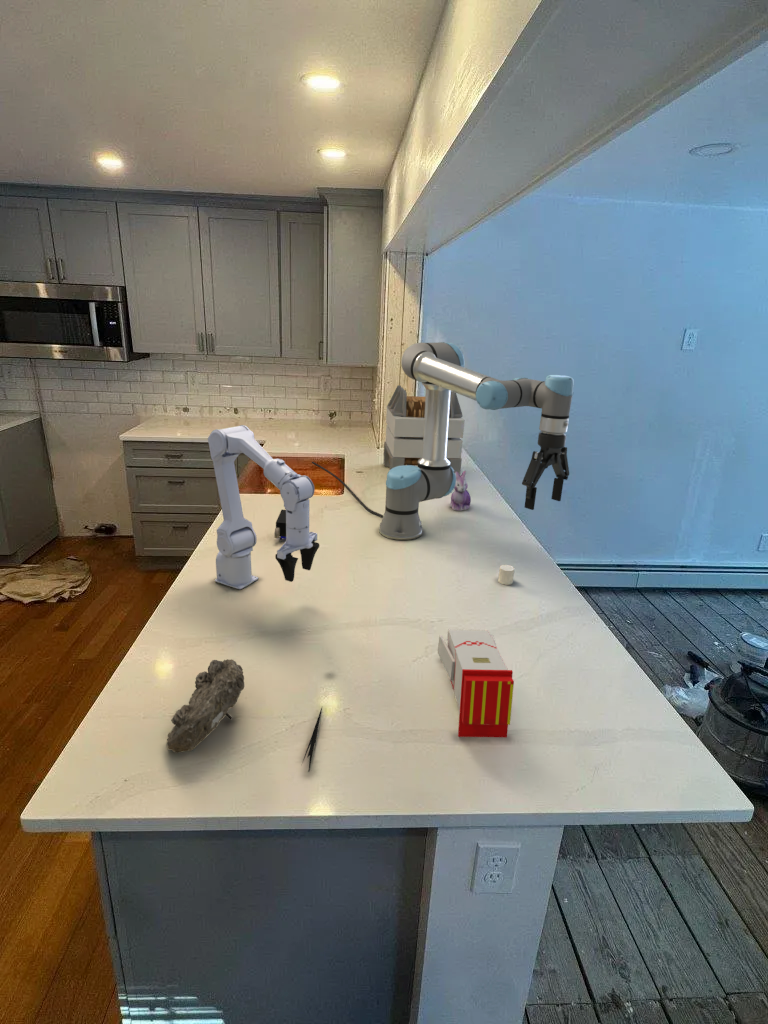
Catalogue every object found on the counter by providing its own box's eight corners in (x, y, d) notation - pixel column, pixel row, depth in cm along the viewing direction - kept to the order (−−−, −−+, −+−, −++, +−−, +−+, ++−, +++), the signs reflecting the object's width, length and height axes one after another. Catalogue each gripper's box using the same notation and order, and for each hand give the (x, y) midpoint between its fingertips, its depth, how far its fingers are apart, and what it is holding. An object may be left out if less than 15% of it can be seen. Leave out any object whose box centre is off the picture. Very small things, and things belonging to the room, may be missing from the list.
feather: (331, 679, 122) (336, 673, 122) (307, 777, 96) (313, 769, 95) (324, 675, 122) (329, 669, 121) (298, 772, 95) (304, 764, 95)
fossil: (192, 660, 117) (244, 628, 112) (224, 691, 120) (276, 661, 115) (142, 746, 98) (202, 712, 93) (182, 779, 101) (242, 748, 96)
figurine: (457, 512, 223) (460, 476, 218) (443, 504, 231) (446, 469, 226) (477, 509, 227) (480, 473, 222) (462, 502, 236) (465, 467, 230)
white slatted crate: (382, 463, 289) (386, 382, 275) (445, 464, 293) (451, 384, 279) (390, 482, 257) (394, 392, 243) (460, 483, 261) (468, 394, 247)
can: (512, 585, 166) (514, 571, 164) (498, 583, 166) (499, 569, 165) (512, 579, 170) (514, 565, 168) (498, 577, 170) (499, 563, 169)
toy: (488, 613, 130) (523, 677, 101) (484, 667, 133) (517, 744, 104) (435, 612, 130) (455, 676, 101) (432, 666, 133) (451, 743, 103)
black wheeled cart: (294, 548, 187) (299, 527, 200) (293, 528, 183) (299, 508, 197) (273, 548, 187) (280, 526, 200) (272, 527, 183) (279, 507, 197)
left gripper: (293, 538, 133) (294, 589, 137) (327, 519, 145) (326, 567, 149) (269, 531, 135) (270, 582, 140) (304, 514, 148) (304, 561, 152)
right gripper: (538, 439, 148) (528, 516, 155) (588, 430, 164) (577, 499, 171) (514, 434, 153) (506, 508, 160) (565, 425, 169) (555, 493, 176)
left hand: (298, 574), depth 145 cm, fingers open, 7 cm apart
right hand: (542, 504), depth 166 cm, fingers open, 13 cm apart
